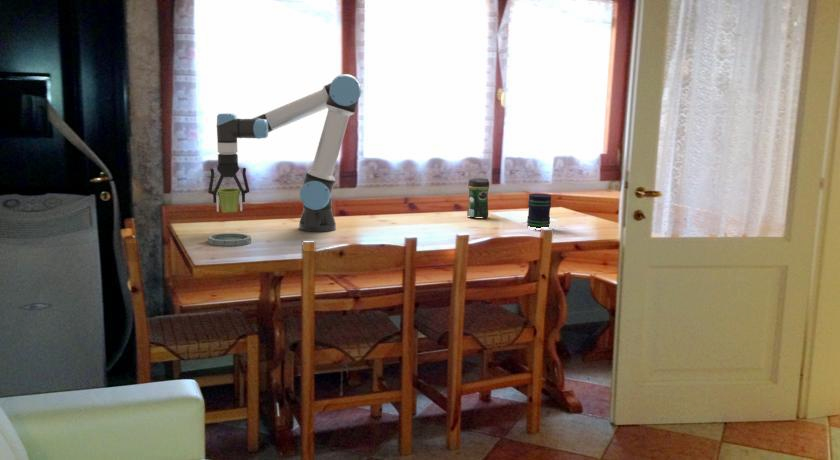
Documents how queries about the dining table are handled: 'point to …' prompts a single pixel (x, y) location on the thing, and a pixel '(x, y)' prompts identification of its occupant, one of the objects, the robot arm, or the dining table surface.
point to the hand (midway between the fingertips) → (229, 210)
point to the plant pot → (229, 199)
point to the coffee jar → (478, 197)
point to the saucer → (229, 239)
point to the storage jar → (539, 210)
